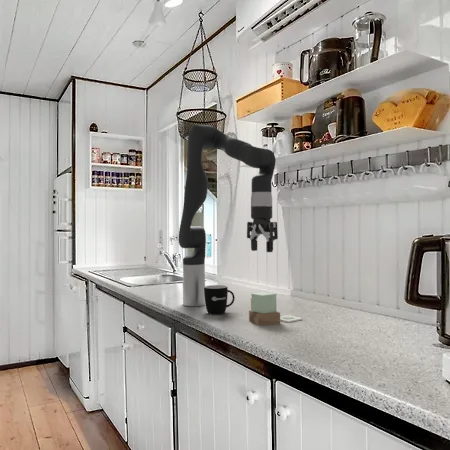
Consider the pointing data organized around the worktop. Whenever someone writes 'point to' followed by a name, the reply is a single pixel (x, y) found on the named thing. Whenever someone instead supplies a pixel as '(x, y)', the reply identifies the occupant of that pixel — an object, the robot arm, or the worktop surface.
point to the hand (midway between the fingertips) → (261, 251)
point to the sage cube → (264, 302)
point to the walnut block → (264, 318)
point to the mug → (217, 299)
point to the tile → (289, 318)
